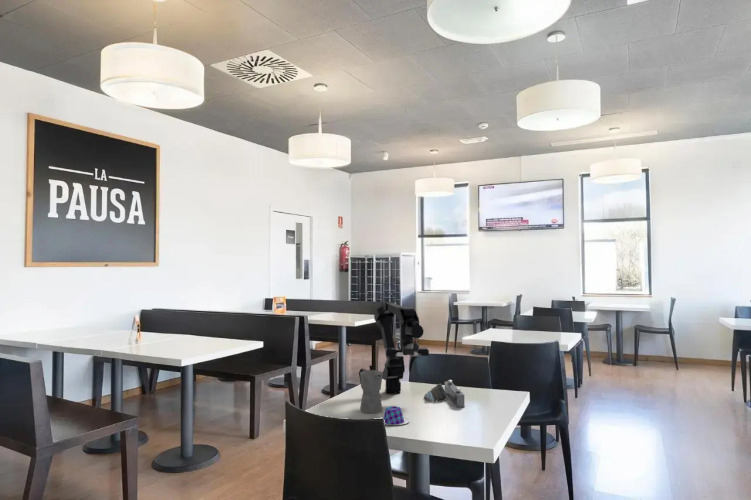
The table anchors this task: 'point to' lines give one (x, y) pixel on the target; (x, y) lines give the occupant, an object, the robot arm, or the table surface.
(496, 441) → the table surface
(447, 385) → the stop rail
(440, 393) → the chocolate cake
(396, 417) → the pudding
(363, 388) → the coffeepot
